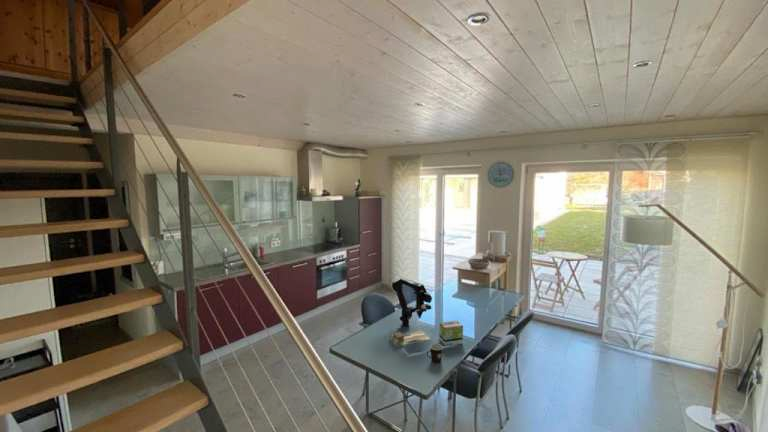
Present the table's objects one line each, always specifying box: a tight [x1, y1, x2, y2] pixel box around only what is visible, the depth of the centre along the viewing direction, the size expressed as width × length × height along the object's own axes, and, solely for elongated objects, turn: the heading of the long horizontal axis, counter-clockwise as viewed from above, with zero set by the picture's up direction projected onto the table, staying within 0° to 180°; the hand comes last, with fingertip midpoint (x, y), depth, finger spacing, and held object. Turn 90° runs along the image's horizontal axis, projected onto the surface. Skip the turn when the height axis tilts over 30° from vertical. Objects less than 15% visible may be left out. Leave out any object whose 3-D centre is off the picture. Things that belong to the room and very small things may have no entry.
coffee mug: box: [426, 343, 444, 364], centre depth 222 cm, size 12×9×10 cm
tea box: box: [438, 320, 464, 347], centre depth 247 cm, size 15×10×15 cm, turn 105°
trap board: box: [389, 330, 431, 349], centre depth 251 cm, size 15×28×5 cm, turn 112°
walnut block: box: [392, 331, 405, 343], centre depth 247 cm, size 6×6×5 cm
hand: (419, 318), depth 263 cm, fingers closed
